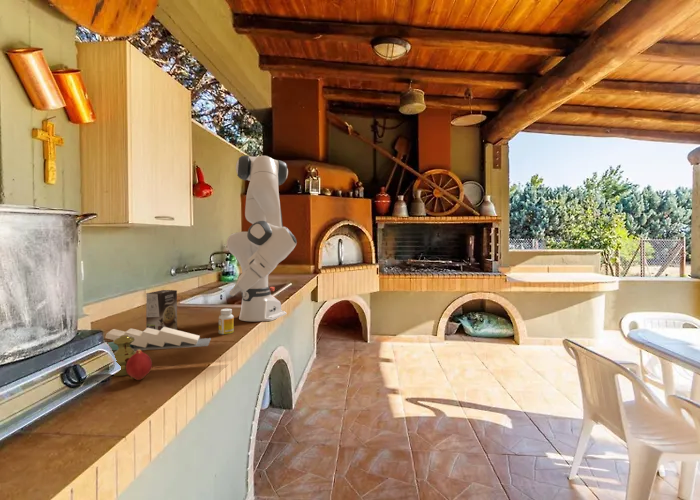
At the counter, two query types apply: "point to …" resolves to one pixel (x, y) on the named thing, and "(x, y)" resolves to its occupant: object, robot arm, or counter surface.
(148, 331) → the domino
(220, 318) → the supplement bottle
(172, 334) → the domino
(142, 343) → the domino
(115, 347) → the domino
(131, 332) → the domino
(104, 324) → the counter surface
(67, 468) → the counter surface
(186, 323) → the counter surface
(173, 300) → the coffee box
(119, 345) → the olive waisted piece
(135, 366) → the onion
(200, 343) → the slate board
